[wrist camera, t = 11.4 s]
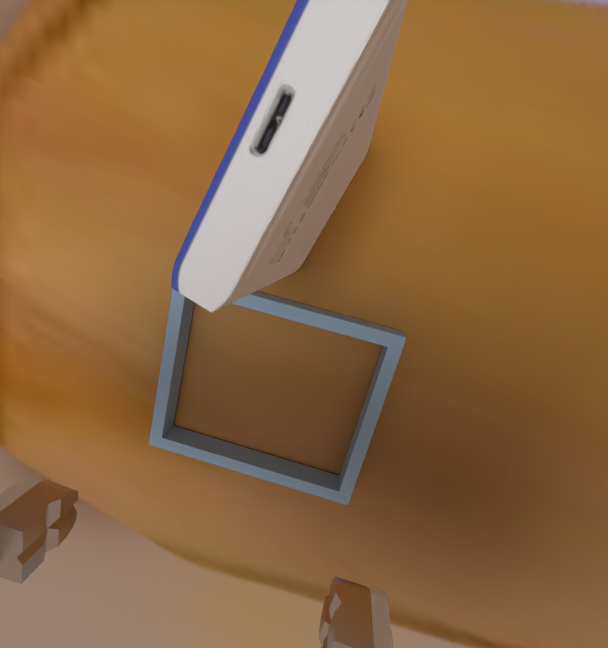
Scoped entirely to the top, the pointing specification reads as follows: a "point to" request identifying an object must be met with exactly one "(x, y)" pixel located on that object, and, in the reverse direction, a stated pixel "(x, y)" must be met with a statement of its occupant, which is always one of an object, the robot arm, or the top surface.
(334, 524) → the top surface
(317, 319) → the frame
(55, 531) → the robot arm
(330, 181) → the hard drive
